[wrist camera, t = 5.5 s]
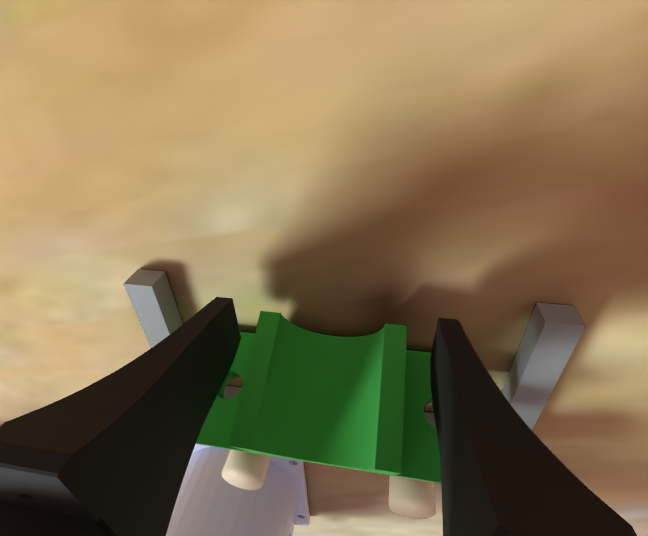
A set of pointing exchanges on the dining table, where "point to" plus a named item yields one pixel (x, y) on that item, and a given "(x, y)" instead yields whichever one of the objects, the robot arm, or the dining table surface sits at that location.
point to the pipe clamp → (329, 401)
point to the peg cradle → (409, 494)
